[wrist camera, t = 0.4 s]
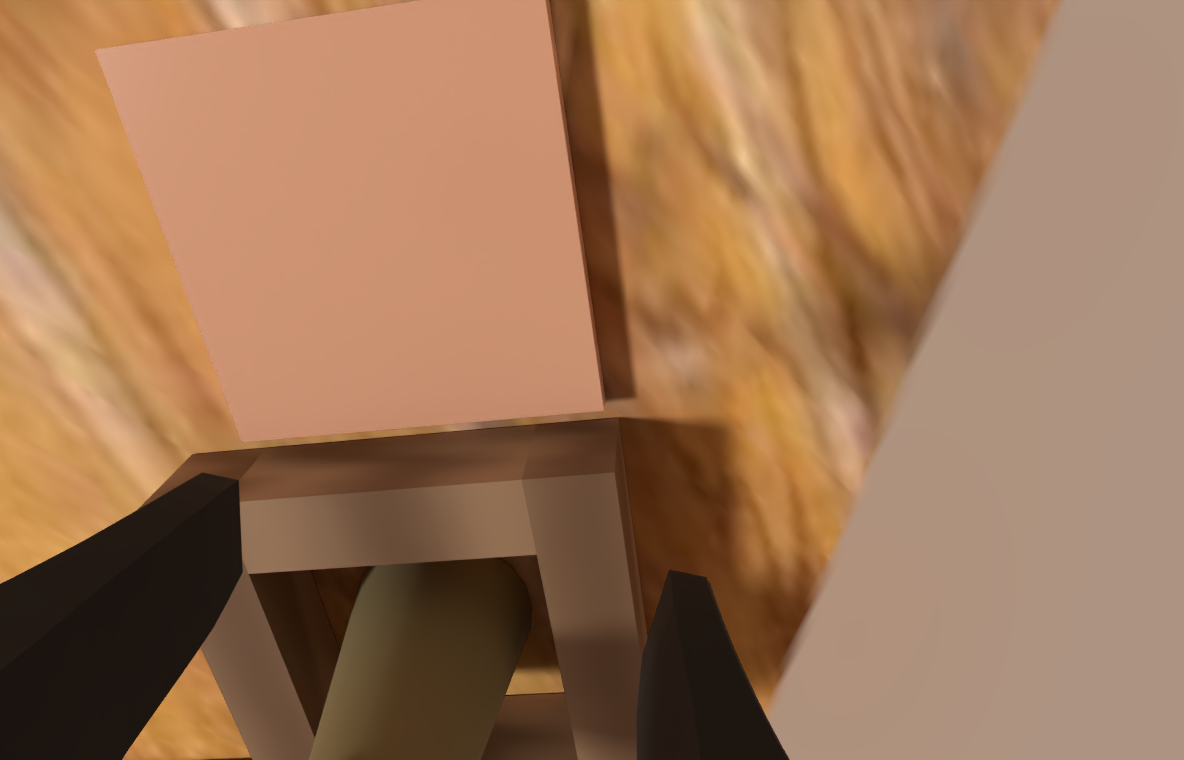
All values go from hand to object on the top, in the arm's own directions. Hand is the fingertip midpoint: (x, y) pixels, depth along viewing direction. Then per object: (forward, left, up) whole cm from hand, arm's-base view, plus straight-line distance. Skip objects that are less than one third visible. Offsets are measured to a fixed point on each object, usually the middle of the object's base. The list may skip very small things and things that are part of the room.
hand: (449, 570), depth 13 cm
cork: (-5, -10, -11) cm, 15 cm away
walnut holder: (-5, -10, -10) cm, 15 cm away
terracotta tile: (-4, +3, -10) cm, 11 cm away
